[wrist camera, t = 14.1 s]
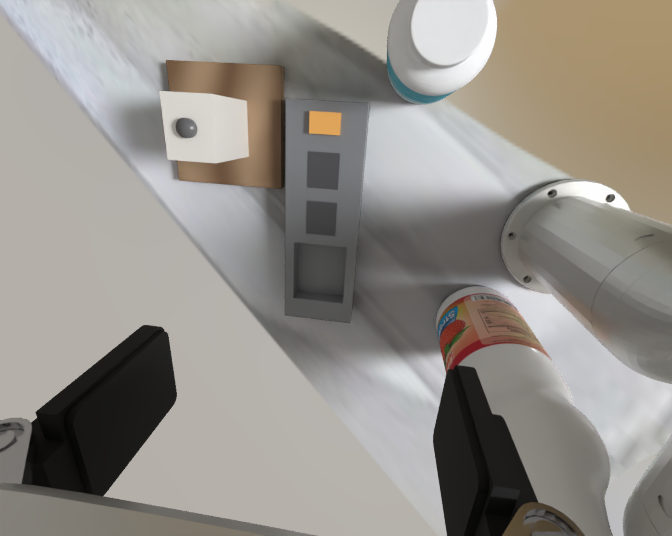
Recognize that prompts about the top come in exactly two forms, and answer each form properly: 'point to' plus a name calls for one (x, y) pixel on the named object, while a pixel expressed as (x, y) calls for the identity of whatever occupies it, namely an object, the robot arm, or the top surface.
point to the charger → (204, 127)
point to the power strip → (323, 205)
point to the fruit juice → (529, 403)
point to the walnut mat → (262, 113)
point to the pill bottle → (438, 46)
